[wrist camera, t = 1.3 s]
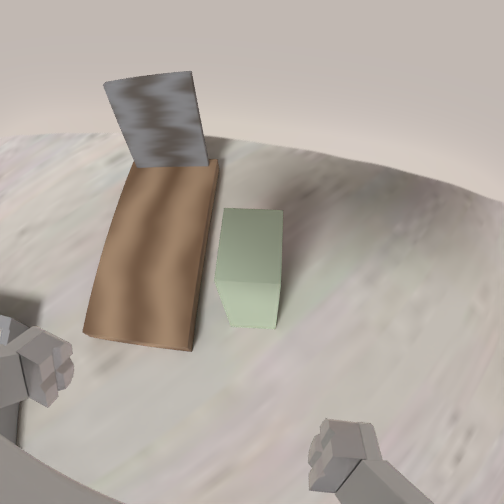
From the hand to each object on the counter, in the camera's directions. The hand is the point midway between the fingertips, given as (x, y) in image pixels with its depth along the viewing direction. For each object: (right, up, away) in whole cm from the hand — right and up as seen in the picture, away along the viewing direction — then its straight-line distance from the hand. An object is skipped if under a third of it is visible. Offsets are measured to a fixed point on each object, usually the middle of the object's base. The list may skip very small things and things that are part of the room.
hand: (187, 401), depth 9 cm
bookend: (-9, +5, +29) cm, 30 cm away
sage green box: (+2, -1, +25) cm, 25 cm away
